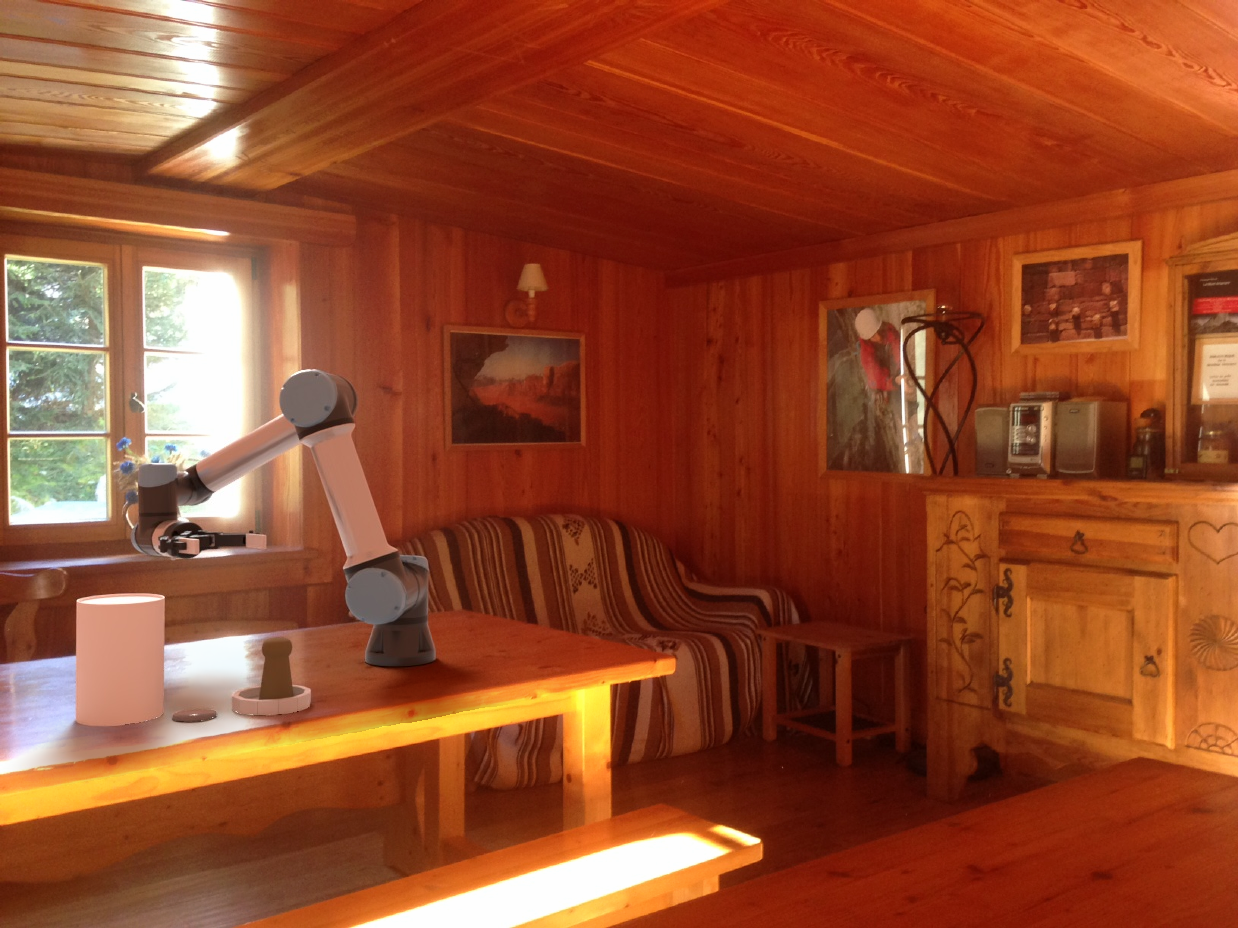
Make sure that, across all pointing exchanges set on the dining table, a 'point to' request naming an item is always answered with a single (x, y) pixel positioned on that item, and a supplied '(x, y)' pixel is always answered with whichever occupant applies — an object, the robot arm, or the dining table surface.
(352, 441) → the robot arm
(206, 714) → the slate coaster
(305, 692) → the pink flat ring
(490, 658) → the dining table surface
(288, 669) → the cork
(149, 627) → the canister
